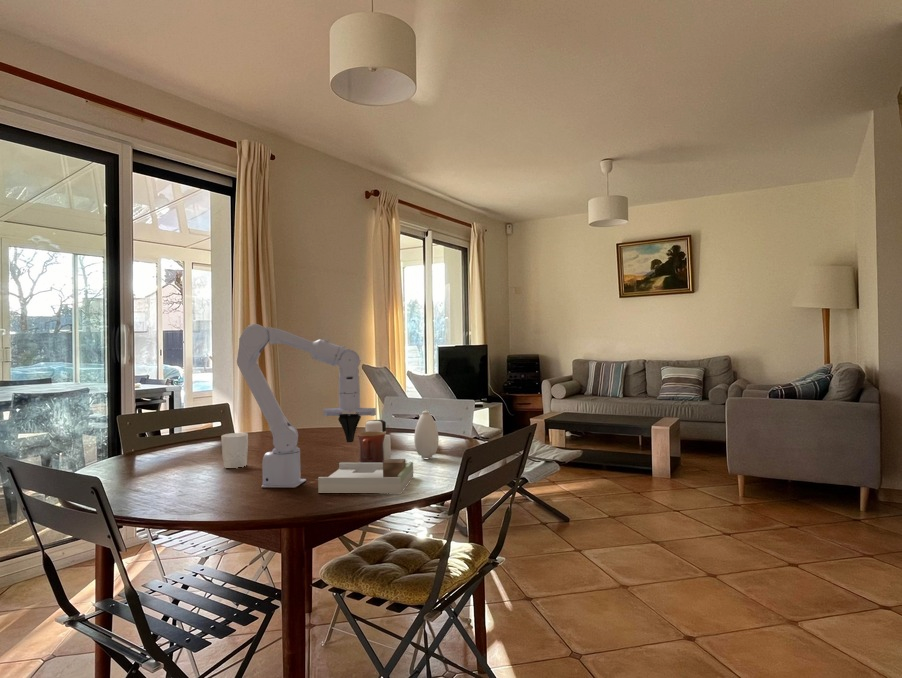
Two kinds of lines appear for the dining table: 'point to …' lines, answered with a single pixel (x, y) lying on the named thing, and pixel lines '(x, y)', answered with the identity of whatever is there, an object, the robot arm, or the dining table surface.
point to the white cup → (234, 449)
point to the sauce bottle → (426, 435)
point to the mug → (371, 446)
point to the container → (380, 426)
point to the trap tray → (364, 479)
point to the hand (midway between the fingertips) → (350, 441)
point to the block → (393, 467)
